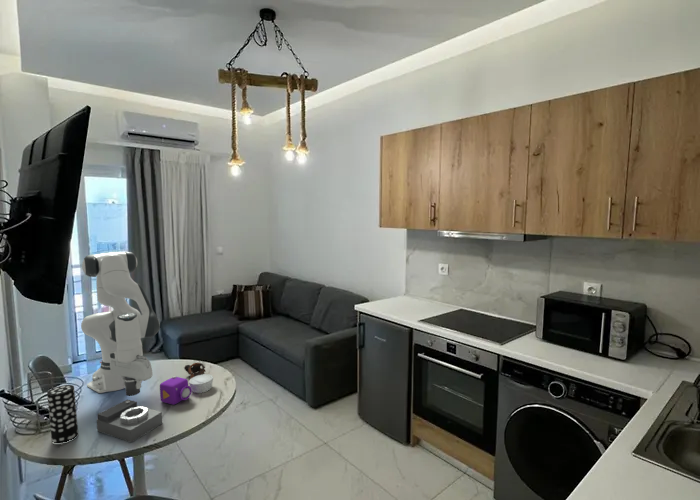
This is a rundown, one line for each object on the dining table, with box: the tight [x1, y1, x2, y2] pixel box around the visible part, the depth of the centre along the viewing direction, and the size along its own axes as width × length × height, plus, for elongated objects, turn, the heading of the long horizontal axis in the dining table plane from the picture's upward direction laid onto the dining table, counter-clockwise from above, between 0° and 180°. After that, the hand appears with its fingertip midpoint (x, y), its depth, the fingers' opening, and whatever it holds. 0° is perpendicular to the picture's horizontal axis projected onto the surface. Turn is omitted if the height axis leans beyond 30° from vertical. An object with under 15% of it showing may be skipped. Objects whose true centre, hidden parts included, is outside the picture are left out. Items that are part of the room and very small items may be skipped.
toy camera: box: [159, 375, 193, 405], centre depth 175 cm, size 11×14×10 cm
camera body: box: [96, 399, 163, 443], centre depth 154 cm, size 20×14×8 cm
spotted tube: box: [46, 384, 79, 443], centre depth 146 cm, size 8×8×20 cm
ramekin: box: [188, 373, 214, 394], centre depth 187 cm, size 11×11×5 cm
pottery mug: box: [183, 362, 207, 380], centre depth 202 cm, size 12×10×8 cm
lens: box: [124, 377, 141, 397], centre depth 151 cm, size 5×5×7 cm
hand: (132, 386), depth 151 cm, fingers closed on lens, 5 cm apart
